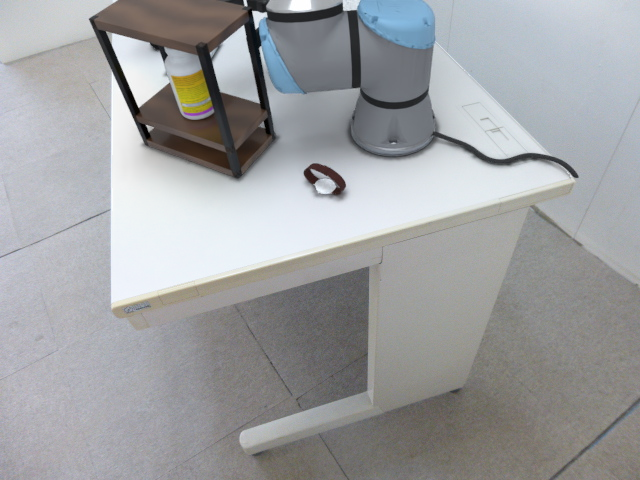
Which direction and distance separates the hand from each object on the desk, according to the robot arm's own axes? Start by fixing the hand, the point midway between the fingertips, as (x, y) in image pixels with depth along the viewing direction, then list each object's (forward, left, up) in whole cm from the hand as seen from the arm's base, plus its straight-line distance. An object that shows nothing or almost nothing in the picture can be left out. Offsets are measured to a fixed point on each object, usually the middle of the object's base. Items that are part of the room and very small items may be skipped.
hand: (216, 38), depth 86 cm
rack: (-3, +8, -16) cm, 18 cm away
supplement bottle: (-3, +8, -9) cm, 13 cm away
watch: (-27, -1, -14) cm, 30 cm away
